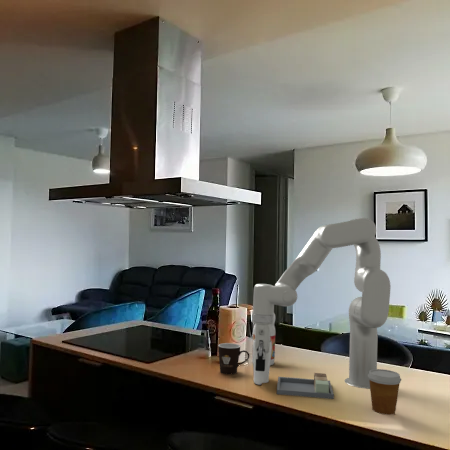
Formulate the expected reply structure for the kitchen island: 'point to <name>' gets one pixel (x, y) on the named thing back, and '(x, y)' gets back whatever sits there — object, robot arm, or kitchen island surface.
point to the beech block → (320, 378)
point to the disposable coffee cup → (384, 390)
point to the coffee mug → (229, 357)
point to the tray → (301, 388)
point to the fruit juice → (272, 338)
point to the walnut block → (318, 376)
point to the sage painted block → (322, 386)
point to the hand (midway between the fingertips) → (261, 367)
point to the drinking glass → (264, 375)
